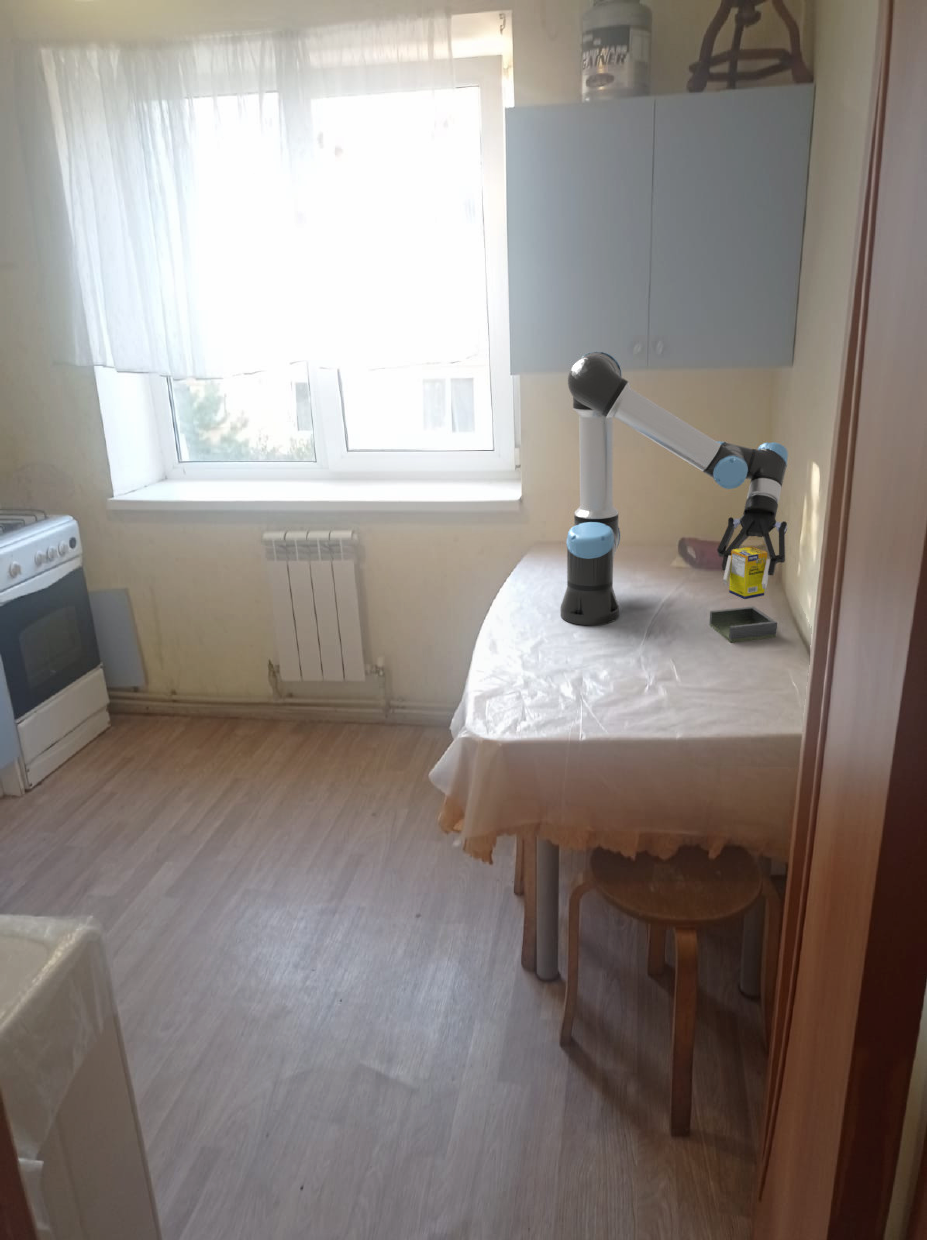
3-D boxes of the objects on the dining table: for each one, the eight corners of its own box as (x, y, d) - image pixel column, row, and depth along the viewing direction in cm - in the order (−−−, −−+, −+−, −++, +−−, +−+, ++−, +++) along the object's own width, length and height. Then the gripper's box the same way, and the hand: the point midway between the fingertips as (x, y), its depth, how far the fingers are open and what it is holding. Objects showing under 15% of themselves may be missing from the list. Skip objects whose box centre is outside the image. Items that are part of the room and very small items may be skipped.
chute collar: (709, 625, 219) (710, 611, 218) (752, 620, 221) (753, 606, 220) (730, 642, 209) (731, 627, 207) (775, 637, 210) (777, 622, 209)
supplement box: (764, 595, 210) (768, 551, 206) (744, 600, 208) (747, 555, 204) (748, 588, 215) (751, 545, 211) (728, 592, 213) (731, 549, 209)
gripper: (808, 512, 213) (792, 596, 206) (720, 506, 223) (701, 586, 215) (807, 496, 207) (790, 581, 199) (716, 490, 216) (697, 572, 209)
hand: (744, 584), depth 207 cm, fingers closed on supplement box, 8 cm apart
